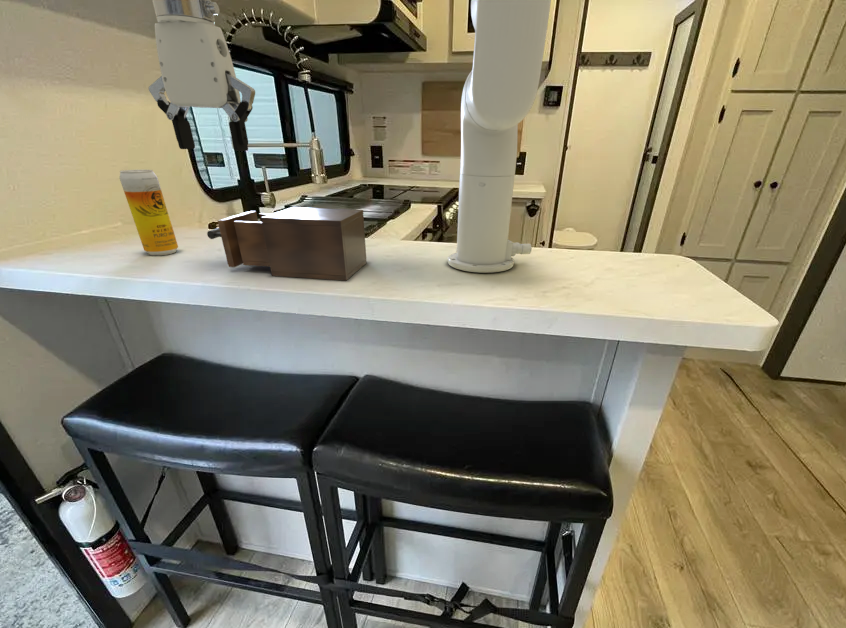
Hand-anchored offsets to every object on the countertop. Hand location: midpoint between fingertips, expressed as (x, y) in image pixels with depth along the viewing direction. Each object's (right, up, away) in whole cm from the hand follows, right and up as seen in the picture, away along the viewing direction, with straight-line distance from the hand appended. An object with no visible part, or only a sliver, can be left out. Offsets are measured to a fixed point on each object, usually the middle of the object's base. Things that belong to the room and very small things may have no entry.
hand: (214, 149), depth 68 cm
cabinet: (+16, -18, +8) cm, 25 cm away
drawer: (+5, -16, +9) cm, 19 cm away
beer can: (-19, -12, +17) cm, 28 cm away
